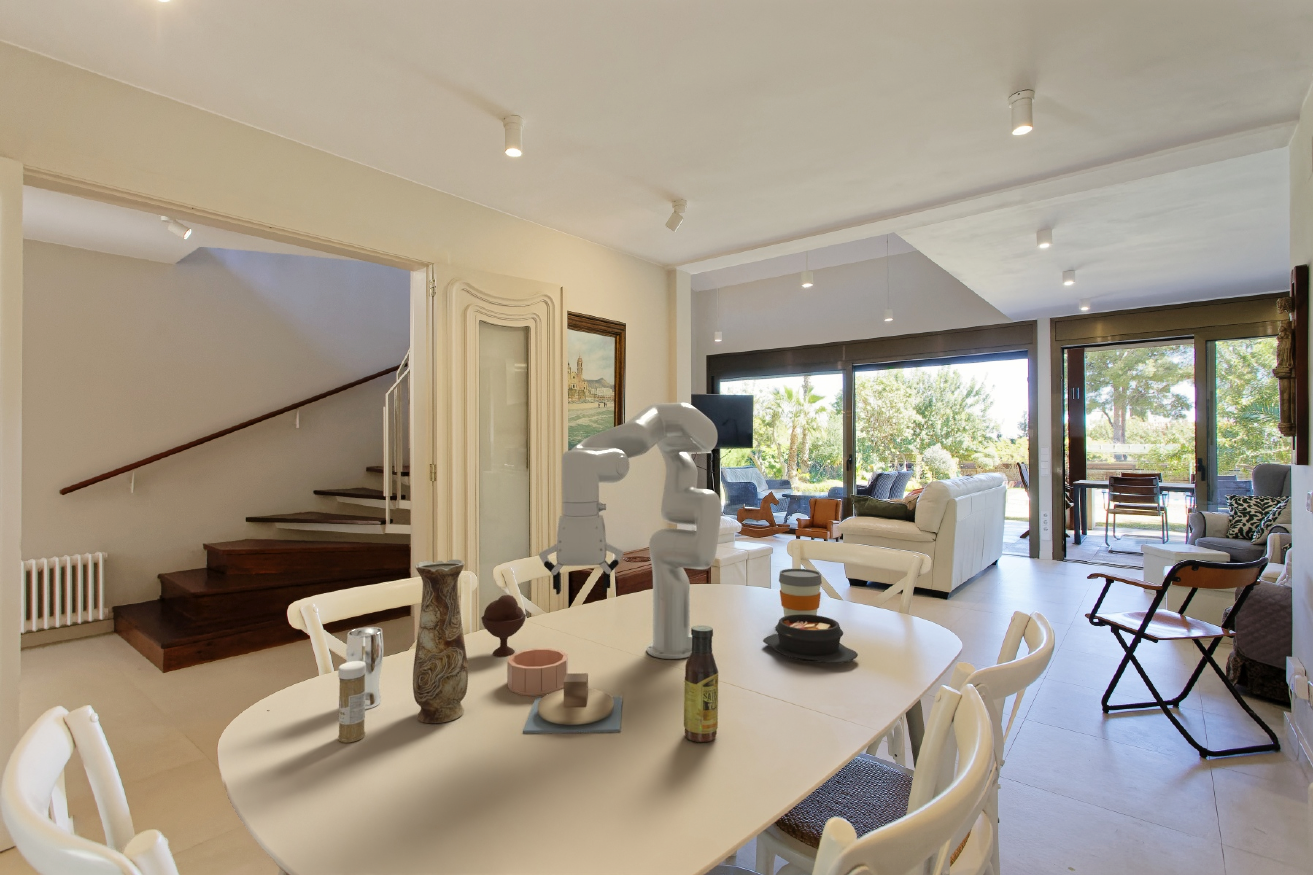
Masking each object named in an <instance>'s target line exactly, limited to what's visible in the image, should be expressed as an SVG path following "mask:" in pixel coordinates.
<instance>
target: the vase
mask: <svg viewBox="0 0 1313 875" xmlns="http://www.w3.org/2000/svg"><path fill="white" fill-rule="evenodd" d="M465 566H466V561H463V560H461V559H448V560H447V561H446V562H445V561H443V560H438V561H436V562H433V561H432V560H425V561H421V562H418V563H417V564H416V565H414V569H415V570H416V572H417V573H418V574H419V576H420V578H421V580H422V591H421V592H422V593H421V605H420V613H419V620H418V623H419V624H418V628H417V629H418V631H417V636H416V637H417V638H416V646H415V654H414V660H413V667H412V668H413V669H412V692H413V698H414V701H415V702H416V704H417V705H418V706H419V707H420V710H419V713H418V715H417V717H416V718H417V720H418V721H419V722H422V723H426V724H441V723H445V722H451V721H454V720H457V719H458V718H460V717H461V716H463V715H464V714H465V708H464V707H463V706H462V704H461V703H462V701H463V699H464V698H465V696H466V695H467V690H468V684H469V672H468V671H469V668H468V666H469V665H468V658H467V656H468V655H467V649H466V643H465V642H466V641H465V636H464V629H463V623H462V615H461V614H462V613H461V607H460V598H459V597H460V596H459V587H458V583H459V582H458V581H459V578H460V575H461V573H462V571H463V569H464V567H465Z"/></svg>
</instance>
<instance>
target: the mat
mask: <svg viewBox="0 0 1313 875" xmlns="http://www.w3.org/2000/svg"><path fill="white" fill-rule="evenodd" d="M542 698H543V697H536V698H535V700H534V702H533V705H532V706H531V707H532V708H531V709H530V712H529V715H528V717H527V720H526V722H525V726H524V727H523V731H522V733H523V734H550V733H551V734H556V733H557V734H559V733H561V734H563V733H567V734H568V733H571V734H572V733H575V734H576V733H621V723H622V722H621V720H622V702H623V696H612V698H613V700H614V709H613V711H612V712H611V714H609V715H608V716H607V717H605V718H603V719H601V720H598V721H595V722H591V723H586V724H577V725H565V724H557V723H553V722H549V721H547V720H545V719H543V718H542V717H540V715H539V714H538V702H539V701H540V699H542Z"/></svg>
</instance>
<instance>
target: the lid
mask: <svg viewBox="0 0 1313 875" xmlns="http://www.w3.org/2000/svg"><path fill="white" fill-rule="evenodd" d="M612 697H613V696H612V695H611V694H609V693H608V692H605V691H604V690H599V689H595V688H589V673H587V672H586V673H583V672H581V673H577V672H576V673H571V672H570V673H568V674H566V676H565V679H564V688H563V689H562V690H559V691H556V692H552V693H550V694H547V695H543V696H542V697H541V698H542V699H540V701H539V702H538V714H539V715H540V717H542V718H543V719H545V720H547V721H549V722H553V723H557V724H565V725H577V724H586V723H591V722H595V721H598V720H601V719H603V718H605V717H607V716H608V715H609V714H611V712H612V711H613V709H614V700H613V698H612Z"/></svg>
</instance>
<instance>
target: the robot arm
mask: <svg viewBox="0 0 1313 875" xmlns="http://www.w3.org/2000/svg"><path fill="white" fill-rule="evenodd" d="M717 443H718V430H717V427H716V425H715V423H714V422H713V421H712V420H711V419H710V418H709V417H707V415H705V414H704V413H703V412H702V411H700V410H699V409H698V408H696V407H695V406H693V405H691V404H689V403H687V402H661V403H660V402H659V403H653V404H650V405H648V406H647V407H645V408H644V409H642V410H640V411H639V412H638V413H637V414H636V415H634V416H633V417H632V418H630V419H629V420H627V421H626V422H625V423H622V424H620V425H617V426H614V427H610V428H608V429H606V430H603V431H601V432H598V433H595V434H592V435H590V436H588V437H586V438H585V439H583V440H582V441H580V442H579V443H577V444H575V446H574V447H572V448H571V450H570V449H569V450H566V451H564V452H563V454H562V456H561V488H562V493H561V494H562V495H561V496H562V515H560V516H559V518H558V523H557V524H558V525H557V533H556V543H555V544H554V545H551V546H549V547H548V548H545V549H544V550H542V551H540V552H539V553H538V556H539V558H540V560H541V562H542V564H543V566H544V567H545V568H546V569H547V571H549V573H550V574H551V575H552V590H555V594H556V595H557V596H558V595H560V594H561V592H562V572H561V571H560V570H561V569H562V567H564V566H565V567H567V566H568V567H570V566H571V567H575V566H576V567H577V566H578V567H579V566H599V567H600V568H601V569H602V570H603V573H602V587H603V588H602V590H603V591H602V592H603V594H607V593H608V589H611V574H612V572H613V571H614V569H616V568H617V567H618V566H619V563H620V561H621V560H622V558H623V556H624V551H623V549H620V548H618V547H616V546H614V545H612V544H610V543H608V542H607V536H606V535H607V534H606V525H605V519H604V515H603V514H600V513H601V512H602V511H606V510H607V503H602V502H600V484H599V483H604V484H605V483H607V484H610V483H611V484H613V483H618V482H620V481H622V480H623V479H625V478H626V477H627V475H628V474H629V470H630V460H629V459H631V458H636V457H639V456H643V455H645V454H646V453H648V452H649V451H650V450H651V449H652V448H653V447H654V446H657V447H658V448H657V449H658V450H659V452H660V454H661V455H662V458H663V461H664V463H665V464H664V465H665V480H664V486H663V493H662V497H661V498H662V499H661V505H660V506H661V507H660V515H661V517H662V519H663V521H665V522H667V523H669V524H674V525H681V526H682V525H684V526H693V527H694V526H696V530H692V529H691V530H690V529H681V528H660V529H657V530H656V531H654V533H653V534H651V536H650V539H649V542H648V547H649V548H648V551H649V558H650V562H651V571H652V641H651V642H650V643H648V645H647V646H646V652H647V654H648V655H650V656H651V657H655V658H658V659H659V658H660V659H667V660H679V659H685V658H689V656H690V655H691V653H692V649H691V648H692V635H691V629H690V627H691V626H690V620H691V619H690V618H691V617H690V616H691V615H690V613H691V612H690V606H691V604H690V603H691V602H690V601H691V597H690V596H691V592H690V591H691V588H690V587H691V584H690V579H689V577H688V575H687V573H686V571H685V568H686V569H692V570H693V569H694V570H708V569H709V568H711V567H712V565H713V564H714V562H715V560H716V557H717V556H716V555H717V549H718V542H719V533H720V526H721V519H722V504H721V503H722V502H721V499H720V497H719V494H717V492H715V491H714V490H712V489H706V488H697V486H698V477H699V476H698V475H699V473H698V472H699V471H698V467H697V466H696V463H695V461H694V460H693V458H692V457H691V455H690V454H689V453H703V454H704V453H709V452H711V451H712V450H713V449H715V447H716V445H717ZM555 552H556V553H555ZM607 552H610V553H612V555H614V558H613V560H612V561H611V562H610V563H609V562H608V561H607V559H606V558H607ZM553 553H555V554H556V555H555V556H556V564H554V563H553V562H552V561H550V559H549V556H550V555H551V554H553Z"/></svg>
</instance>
